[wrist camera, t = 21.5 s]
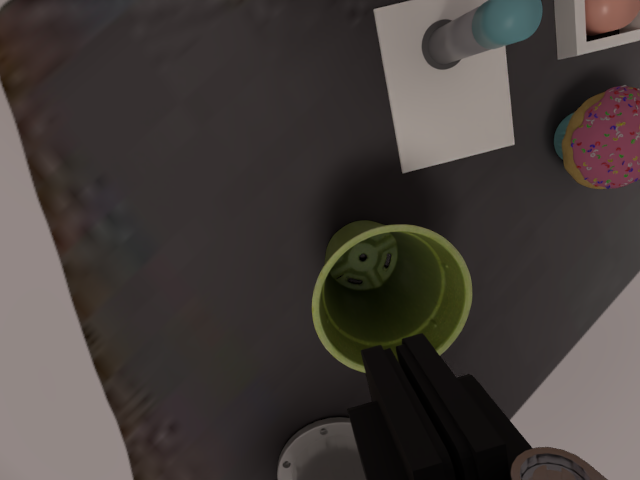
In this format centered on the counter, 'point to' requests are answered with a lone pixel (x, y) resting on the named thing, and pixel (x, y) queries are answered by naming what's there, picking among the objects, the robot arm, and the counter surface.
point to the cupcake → (602, 139)
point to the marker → (485, 29)
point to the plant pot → (389, 290)
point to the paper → (441, 87)
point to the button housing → (574, 31)
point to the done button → (609, 15)
